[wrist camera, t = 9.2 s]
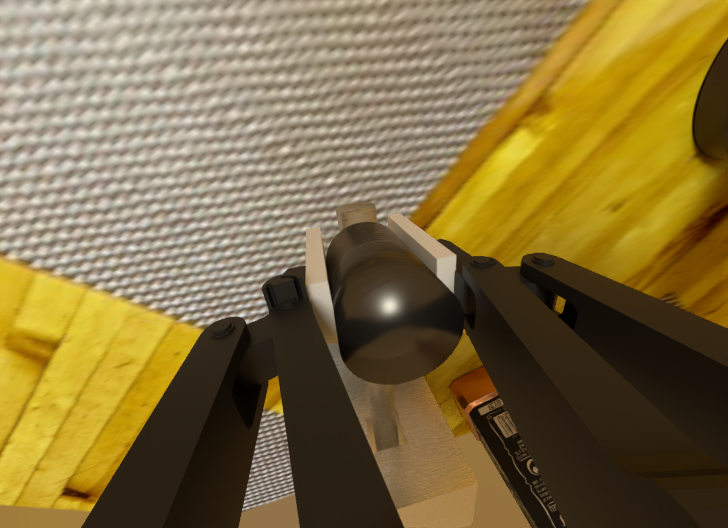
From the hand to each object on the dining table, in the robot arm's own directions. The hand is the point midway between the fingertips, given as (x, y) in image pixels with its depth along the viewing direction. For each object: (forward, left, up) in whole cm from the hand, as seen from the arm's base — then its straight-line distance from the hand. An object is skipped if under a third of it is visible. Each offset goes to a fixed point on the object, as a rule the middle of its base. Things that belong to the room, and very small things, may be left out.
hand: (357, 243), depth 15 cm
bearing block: (+19, 0, -8) cm, 20 cm away
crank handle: (+8, 0, 0) cm, 8 cm away
